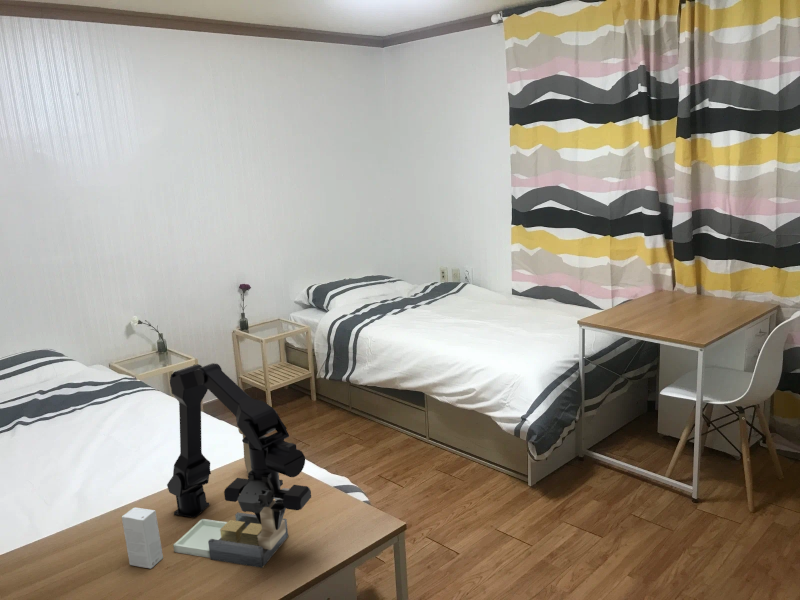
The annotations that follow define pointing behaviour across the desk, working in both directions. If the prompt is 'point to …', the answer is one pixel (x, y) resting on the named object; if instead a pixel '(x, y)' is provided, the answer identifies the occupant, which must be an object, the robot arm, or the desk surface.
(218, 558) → the slot rail
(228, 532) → the wooden block
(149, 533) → the skincare box
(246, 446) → the handle
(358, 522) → the desk surface
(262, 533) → the pale step bench
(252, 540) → the chip
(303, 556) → the desk surface
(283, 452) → the robot arm
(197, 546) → the tray
